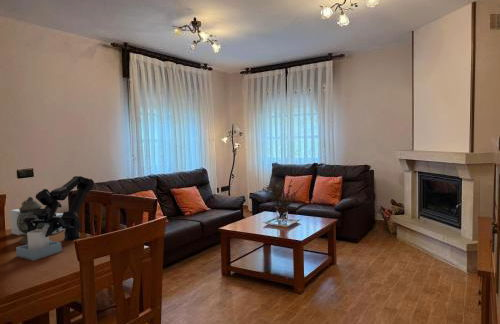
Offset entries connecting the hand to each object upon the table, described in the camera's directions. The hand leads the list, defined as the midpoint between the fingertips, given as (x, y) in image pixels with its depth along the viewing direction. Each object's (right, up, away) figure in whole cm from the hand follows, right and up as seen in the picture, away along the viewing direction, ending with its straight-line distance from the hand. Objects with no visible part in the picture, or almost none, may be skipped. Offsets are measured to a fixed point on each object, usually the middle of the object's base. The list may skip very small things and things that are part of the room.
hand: (37, 236), depth 163 cm
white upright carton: (0, -8, +2) cm, 8 cm away
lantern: (-20, -8, +27) cm, 35 cm away
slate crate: (0, -9, +2) cm, 9 cm away
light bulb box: (-17, -7, +44) cm, 47 cm away
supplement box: (-37, -7, +43) cm, 57 cm away
